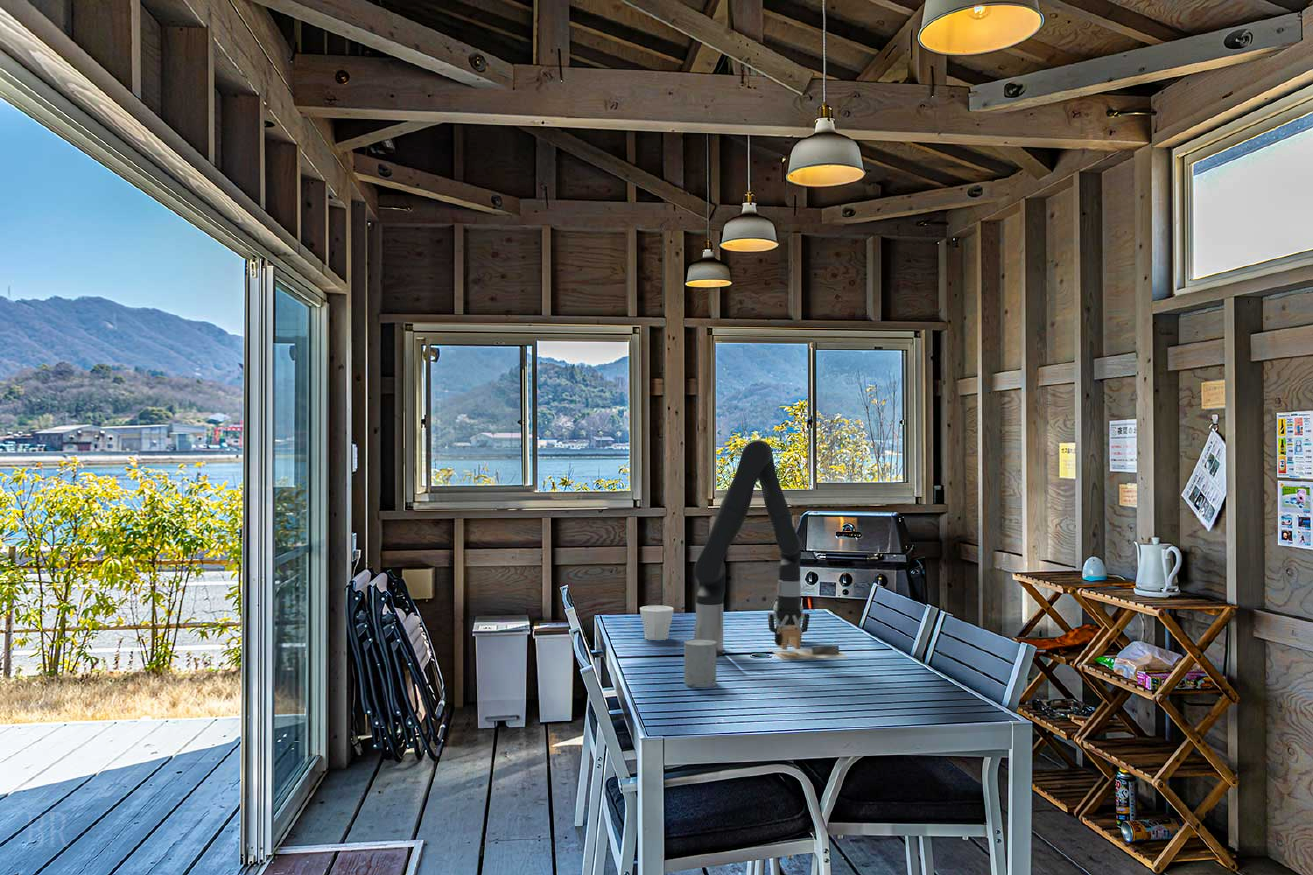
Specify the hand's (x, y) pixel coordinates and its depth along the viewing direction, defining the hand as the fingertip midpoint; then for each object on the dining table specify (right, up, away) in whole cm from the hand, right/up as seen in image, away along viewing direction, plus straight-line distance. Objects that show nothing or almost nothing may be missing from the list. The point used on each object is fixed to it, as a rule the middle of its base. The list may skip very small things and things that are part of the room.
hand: (787, 644), depth 310 cm
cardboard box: (0, -1, 0) cm, 1 cm away
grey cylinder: (-30, -5, -32) cm, 45 cm away
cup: (-43, -5, +32) cm, 54 cm away
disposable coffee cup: (+3, -5, +23) cm, 24 cm away
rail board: (+7, -5, +1) cm, 9 cm away
